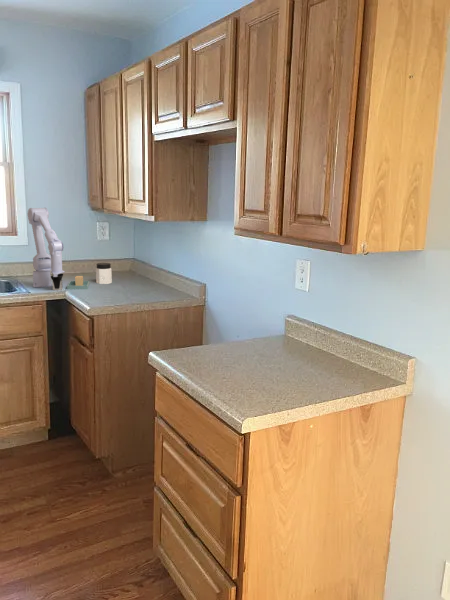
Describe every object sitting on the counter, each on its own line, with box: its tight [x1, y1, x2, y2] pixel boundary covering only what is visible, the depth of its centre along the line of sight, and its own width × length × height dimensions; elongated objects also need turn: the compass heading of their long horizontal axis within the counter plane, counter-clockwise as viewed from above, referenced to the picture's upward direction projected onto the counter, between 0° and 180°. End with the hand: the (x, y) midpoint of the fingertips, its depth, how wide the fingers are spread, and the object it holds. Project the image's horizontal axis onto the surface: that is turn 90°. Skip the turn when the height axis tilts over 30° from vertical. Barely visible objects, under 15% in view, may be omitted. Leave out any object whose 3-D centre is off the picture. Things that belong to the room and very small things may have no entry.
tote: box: [66, 280, 91, 290], centre depth 294 cm, size 11×15×2 cm
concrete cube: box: [51, 279, 64, 291], centre depth 285 cm, size 5×5×6 cm
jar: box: [95, 262, 113, 285], centre depth 307 cm, size 9×8×12 cm
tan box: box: [74, 275, 84, 286], centre depth 298 cm, size 4×4×5 cm
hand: (57, 287), depth 285 cm, fingers closed on concrete cube, 5 cm apart
